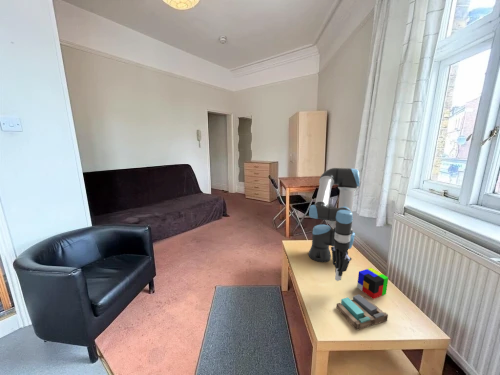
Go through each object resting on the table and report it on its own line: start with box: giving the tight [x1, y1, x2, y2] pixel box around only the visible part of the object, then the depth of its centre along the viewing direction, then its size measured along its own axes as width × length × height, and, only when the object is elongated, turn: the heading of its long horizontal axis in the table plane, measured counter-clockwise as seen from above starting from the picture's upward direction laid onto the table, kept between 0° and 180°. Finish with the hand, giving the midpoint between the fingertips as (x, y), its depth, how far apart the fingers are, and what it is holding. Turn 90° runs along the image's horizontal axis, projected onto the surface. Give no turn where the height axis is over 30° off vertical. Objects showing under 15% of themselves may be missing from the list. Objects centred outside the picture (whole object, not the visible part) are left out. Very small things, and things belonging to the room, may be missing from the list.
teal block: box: [340, 296, 364, 321], centre depth 100 cm, size 10×4×4 cm, turn 17°
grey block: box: [352, 294, 377, 316], centre depth 102 cm, size 10×4×4 cm, turn 23°
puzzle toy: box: [356, 267, 389, 300], centre depth 114 cm, size 10×10×10 cm
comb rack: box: [335, 296, 389, 331], centre depth 99 cm, size 13×18×4 cm
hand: (338, 279), depth 112 cm, fingers closed
